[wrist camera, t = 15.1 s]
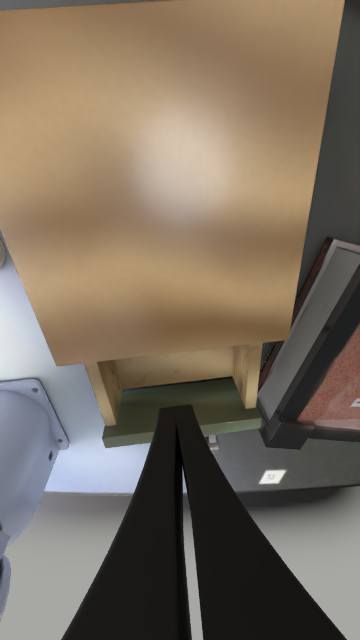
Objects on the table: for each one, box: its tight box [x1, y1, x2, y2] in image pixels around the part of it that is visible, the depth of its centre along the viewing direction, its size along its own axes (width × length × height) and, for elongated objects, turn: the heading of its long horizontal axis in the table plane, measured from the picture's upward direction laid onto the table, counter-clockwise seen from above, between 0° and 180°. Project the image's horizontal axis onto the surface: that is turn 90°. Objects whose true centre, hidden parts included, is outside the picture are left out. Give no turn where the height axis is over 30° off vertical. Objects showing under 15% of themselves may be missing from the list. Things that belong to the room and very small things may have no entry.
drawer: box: [84, 343, 263, 454], centre depth 19 cm, size 17×12×5 cm
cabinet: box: [0, 0, 345, 366], centre depth 13 cm, size 13×13×6 cm
